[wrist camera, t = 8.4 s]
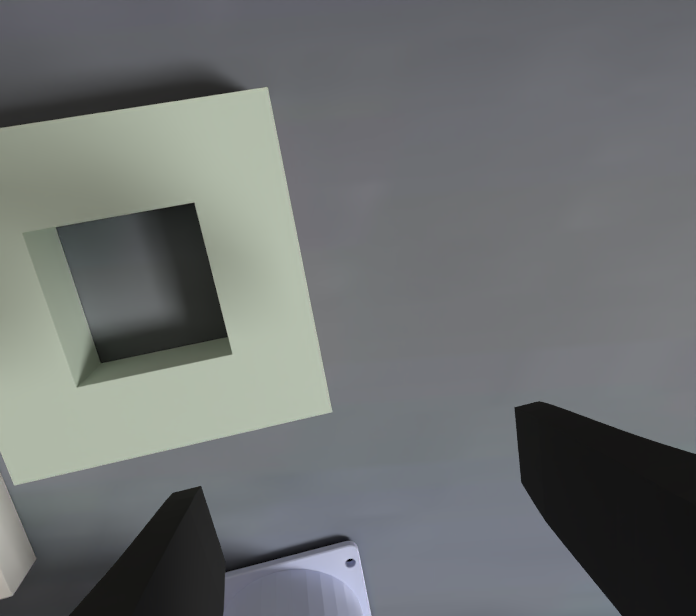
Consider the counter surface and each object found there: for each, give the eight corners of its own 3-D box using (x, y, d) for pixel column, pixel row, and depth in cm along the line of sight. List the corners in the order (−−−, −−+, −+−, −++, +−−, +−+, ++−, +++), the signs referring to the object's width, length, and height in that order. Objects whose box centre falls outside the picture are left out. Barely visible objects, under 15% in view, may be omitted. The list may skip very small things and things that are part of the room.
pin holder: (325, 386, 21) (332, 412, 19) (45, 449, 20) (14, 485, 17) (268, 100, 18) (267, 86, 16) (-69, 153, 17) (-126, 147, 14)
